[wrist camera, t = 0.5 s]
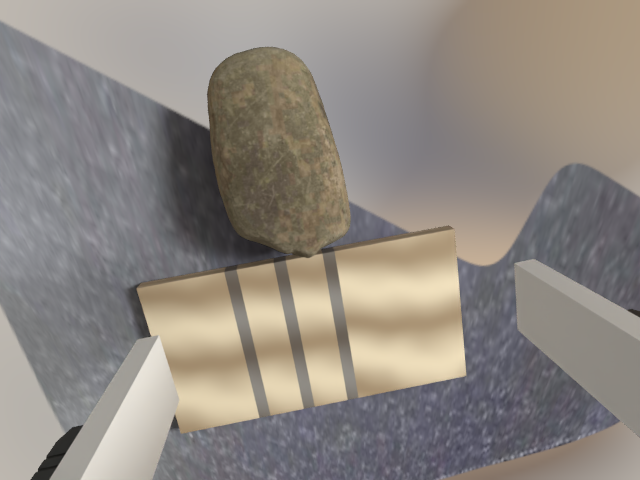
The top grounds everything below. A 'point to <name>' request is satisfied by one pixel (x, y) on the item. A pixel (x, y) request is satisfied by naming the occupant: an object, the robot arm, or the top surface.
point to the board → (309, 327)
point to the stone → (276, 153)
